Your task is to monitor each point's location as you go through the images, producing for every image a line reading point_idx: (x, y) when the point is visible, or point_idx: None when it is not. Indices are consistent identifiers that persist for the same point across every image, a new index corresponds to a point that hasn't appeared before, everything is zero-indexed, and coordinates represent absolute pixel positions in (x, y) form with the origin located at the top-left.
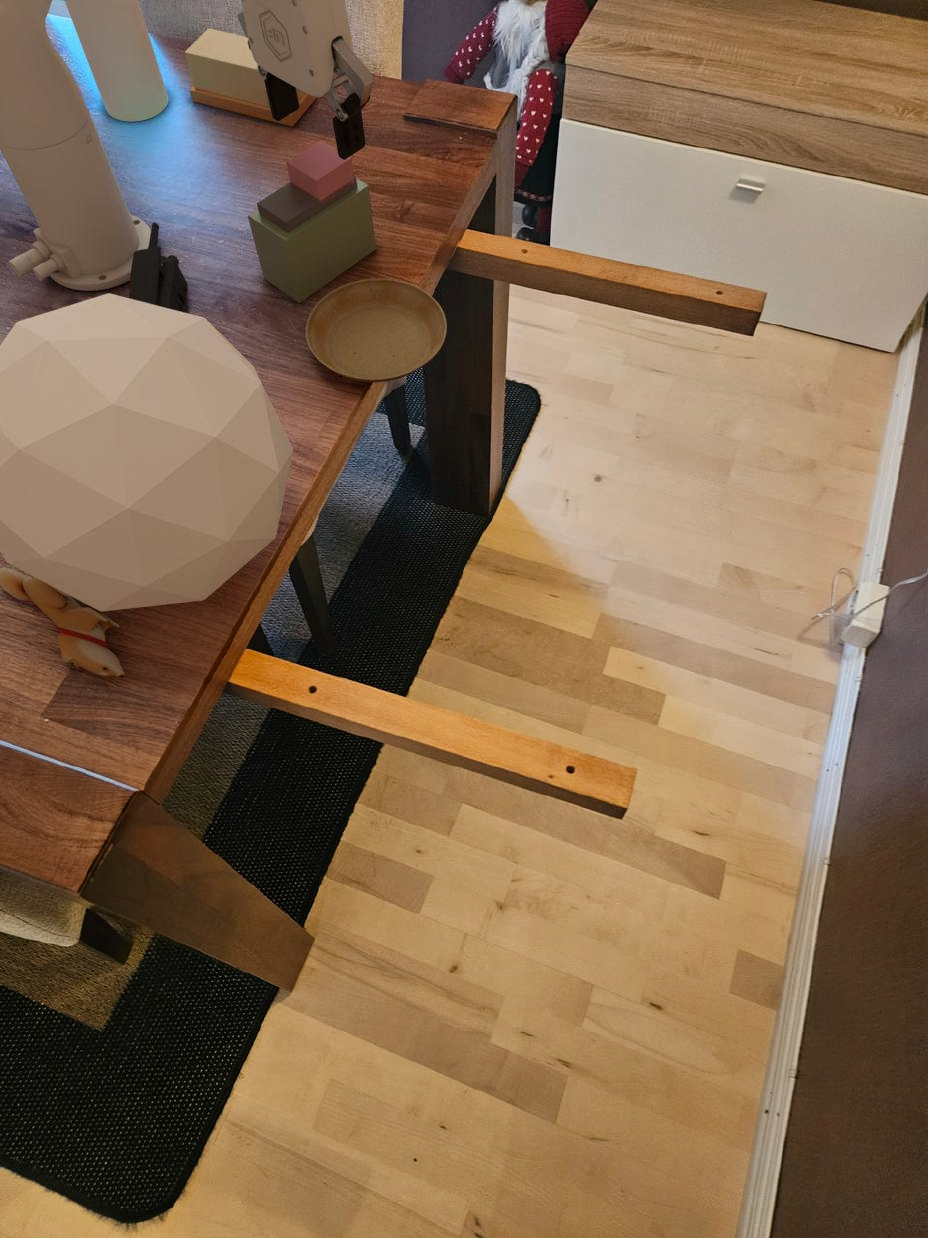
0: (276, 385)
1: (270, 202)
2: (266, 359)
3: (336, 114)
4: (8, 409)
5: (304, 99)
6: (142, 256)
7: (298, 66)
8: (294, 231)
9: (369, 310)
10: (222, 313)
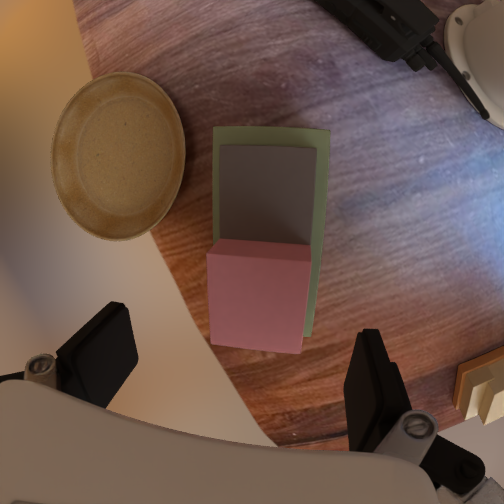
0: (164, 33)
1: (293, 168)
2: (201, 44)
3: (52, 365)
4: None
5: (458, 394)
6: (421, 13)
7: (8, 460)
8: (218, 155)
9: (159, 184)
10: (311, 55)
